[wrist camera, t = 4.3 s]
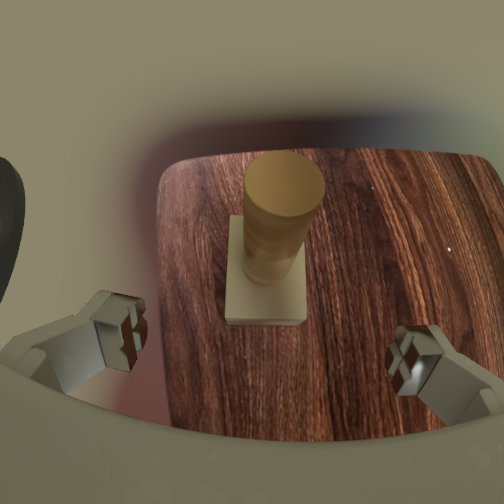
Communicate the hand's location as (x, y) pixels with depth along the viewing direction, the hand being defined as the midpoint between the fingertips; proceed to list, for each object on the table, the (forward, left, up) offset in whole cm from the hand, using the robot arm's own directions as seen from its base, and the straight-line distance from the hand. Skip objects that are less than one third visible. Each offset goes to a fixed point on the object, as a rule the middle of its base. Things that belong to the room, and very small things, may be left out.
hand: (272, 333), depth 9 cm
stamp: (0, +5, -12) cm, 13 cm away
